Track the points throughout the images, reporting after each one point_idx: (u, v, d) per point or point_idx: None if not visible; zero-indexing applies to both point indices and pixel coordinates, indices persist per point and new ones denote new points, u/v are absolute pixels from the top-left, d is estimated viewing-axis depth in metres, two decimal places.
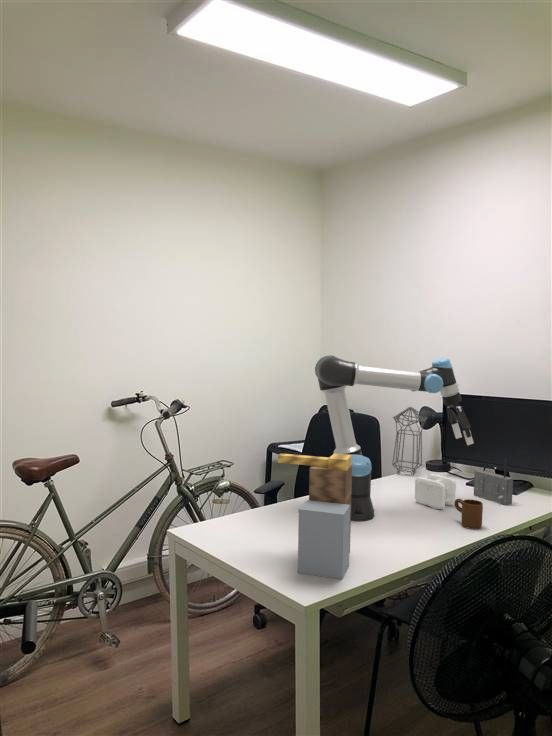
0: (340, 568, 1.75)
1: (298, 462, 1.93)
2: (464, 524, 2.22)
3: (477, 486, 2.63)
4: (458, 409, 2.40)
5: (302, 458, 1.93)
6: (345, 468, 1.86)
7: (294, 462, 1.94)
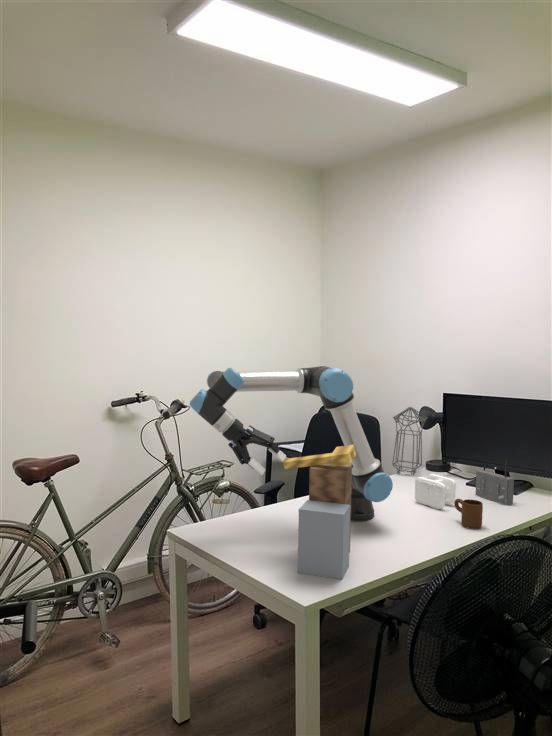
0: (340, 568, 1.75)
1: (303, 465, 1.93)
2: (464, 524, 2.22)
3: (479, 486, 2.63)
4: None
5: (306, 460, 1.92)
6: (348, 462, 1.84)
7: (300, 465, 1.93)
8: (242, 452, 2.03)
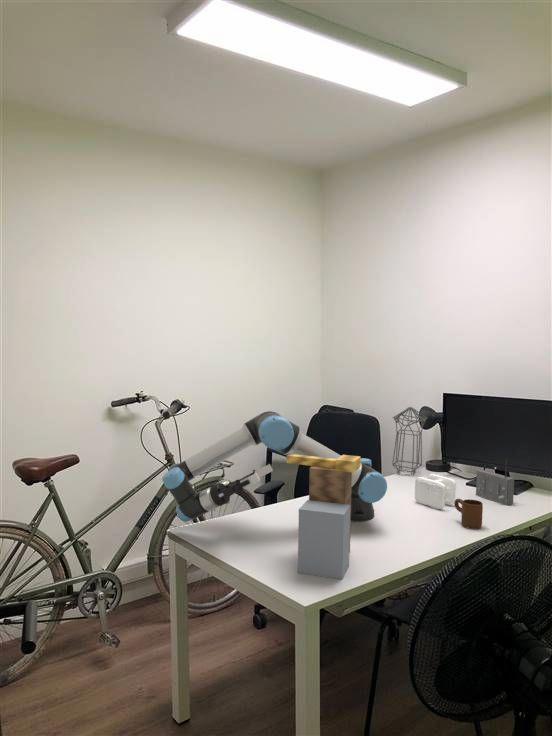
0: (340, 568, 1.75)
1: (306, 463, 1.92)
2: (464, 524, 2.22)
3: (479, 486, 2.63)
4: None
5: (310, 459, 1.92)
6: (352, 470, 1.84)
7: (302, 463, 1.93)
8: None
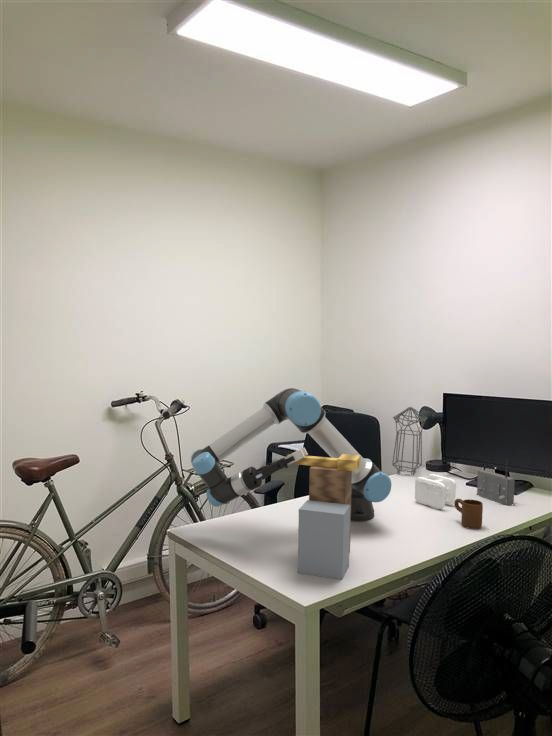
0: (340, 568, 1.75)
1: (307, 463, 1.92)
2: (464, 524, 2.22)
3: (480, 486, 2.63)
4: None
5: (311, 459, 1.92)
6: (354, 469, 1.85)
7: (303, 463, 1.93)
8: None
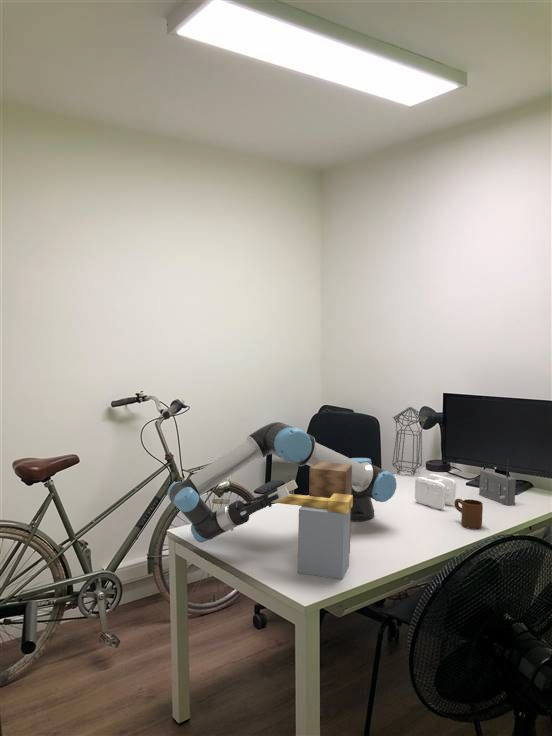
0: (340, 568, 1.75)
1: (296, 503, 1.82)
2: (464, 524, 2.22)
3: (482, 485, 2.64)
4: None
5: (300, 499, 1.81)
6: (346, 511, 1.74)
7: (291, 503, 1.82)
8: None
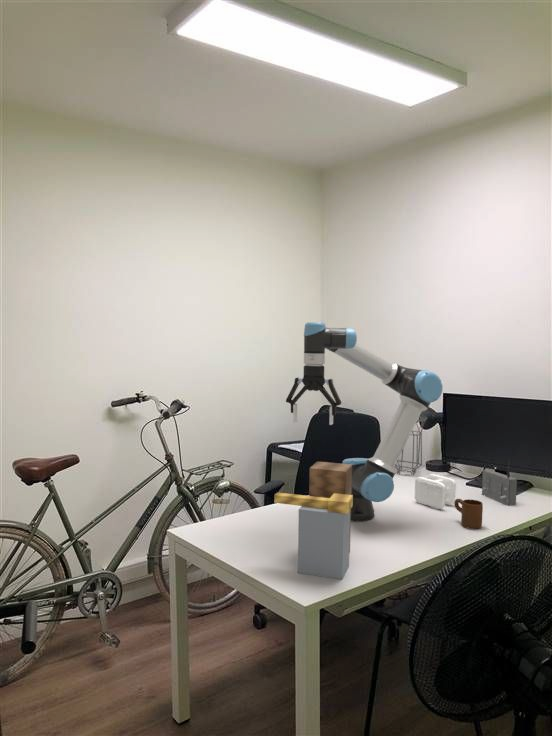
0: (340, 568, 1.75)
1: (296, 503, 1.82)
2: (464, 524, 2.22)
3: (485, 485, 2.64)
4: None
5: (300, 499, 1.81)
6: (346, 511, 1.74)
7: (291, 503, 1.82)
8: (300, 392, 2.11)
